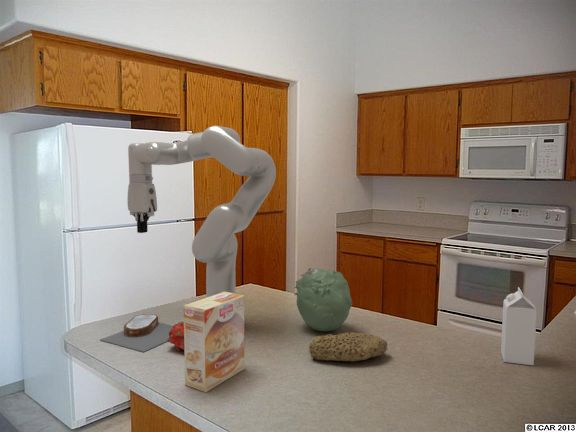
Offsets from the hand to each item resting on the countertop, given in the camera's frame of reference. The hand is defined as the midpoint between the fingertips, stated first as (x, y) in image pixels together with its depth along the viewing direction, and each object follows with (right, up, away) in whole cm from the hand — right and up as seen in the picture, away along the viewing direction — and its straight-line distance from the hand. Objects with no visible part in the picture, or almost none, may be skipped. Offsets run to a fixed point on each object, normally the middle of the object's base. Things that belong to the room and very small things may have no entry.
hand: (142, 232), depth 158 cm
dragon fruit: (+22, -32, -29) cm, 49 cm away
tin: (0, -29, -13) cm, 32 cm away
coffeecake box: (+33, -34, -46) cm, 66 cm away
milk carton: (+112, -33, -36) cm, 122 cm away
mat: (+7, -31, -18) cm, 37 cm away
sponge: (+67, -33, -35) cm, 83 cm away
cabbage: (+62, -31, -13) cm, 70 cm away
